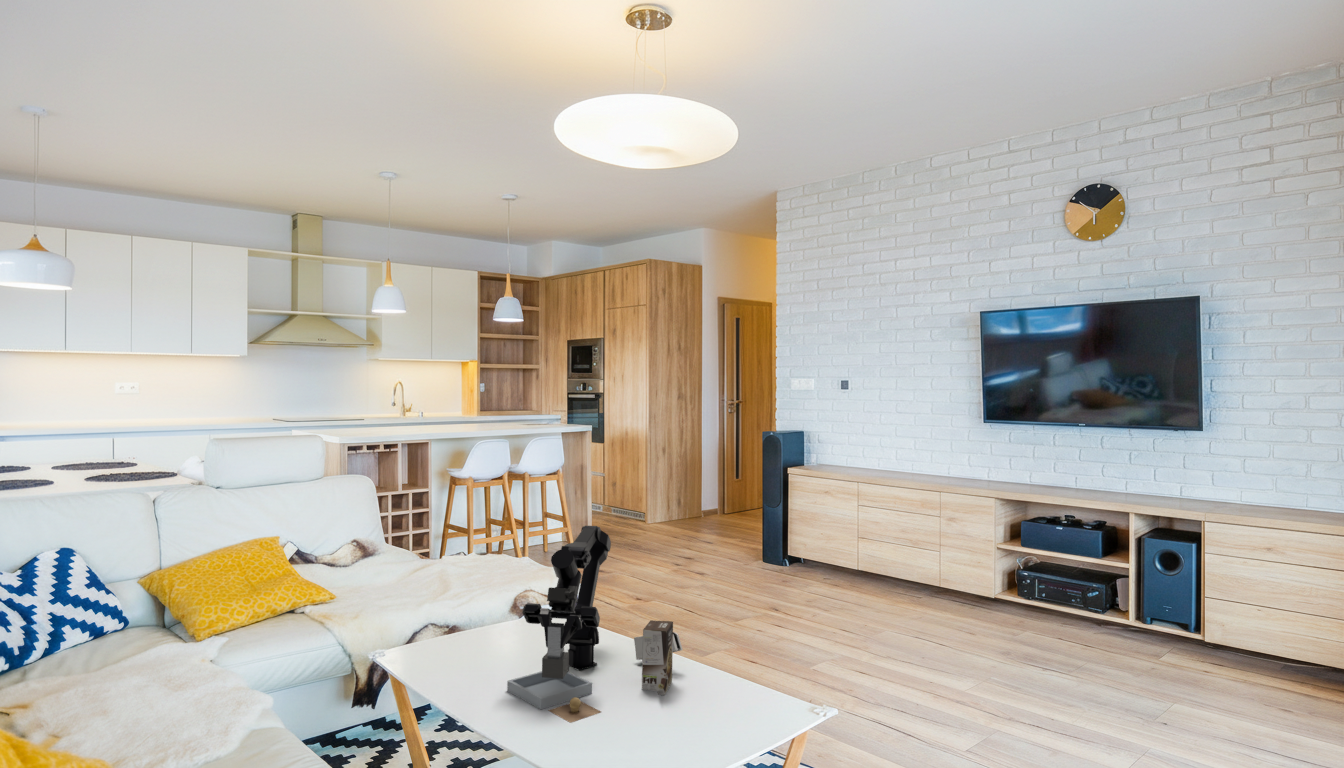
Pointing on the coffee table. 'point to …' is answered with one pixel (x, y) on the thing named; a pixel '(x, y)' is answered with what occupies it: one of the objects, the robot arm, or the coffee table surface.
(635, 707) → the coffee table surface
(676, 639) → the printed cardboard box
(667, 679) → the coffee box
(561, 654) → the strut
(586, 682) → the bin
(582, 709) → the stud mount
